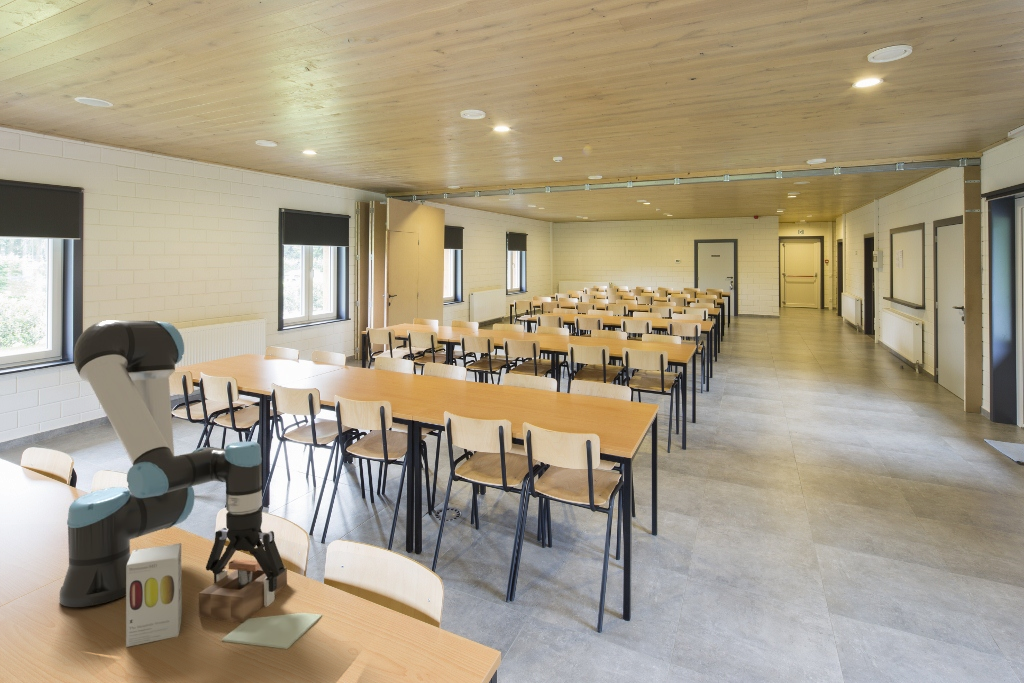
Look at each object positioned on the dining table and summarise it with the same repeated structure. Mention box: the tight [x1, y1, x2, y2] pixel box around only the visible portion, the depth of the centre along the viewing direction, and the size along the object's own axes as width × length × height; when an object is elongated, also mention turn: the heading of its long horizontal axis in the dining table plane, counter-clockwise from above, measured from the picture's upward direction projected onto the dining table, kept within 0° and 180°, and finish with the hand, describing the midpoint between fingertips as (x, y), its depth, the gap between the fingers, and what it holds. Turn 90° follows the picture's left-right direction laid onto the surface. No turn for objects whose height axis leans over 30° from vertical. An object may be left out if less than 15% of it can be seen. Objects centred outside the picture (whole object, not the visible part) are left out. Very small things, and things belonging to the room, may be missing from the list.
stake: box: [228, 558, 261, 590], centre depth 129 cm, size 7×4×10 cm, turn 78°
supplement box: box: [125, 542, 183, 648], centre depth 118 cm, size 10×9×17 cm
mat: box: [221, 612, 323, 650], centre depth 119 cm, size 15×13×1 cm
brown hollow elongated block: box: [198, 566, 288, 625], centre depth 129 cm, size 11×16×6 cm
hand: (245, 602), depth 129 cm, fingers open, 12 cm apart
